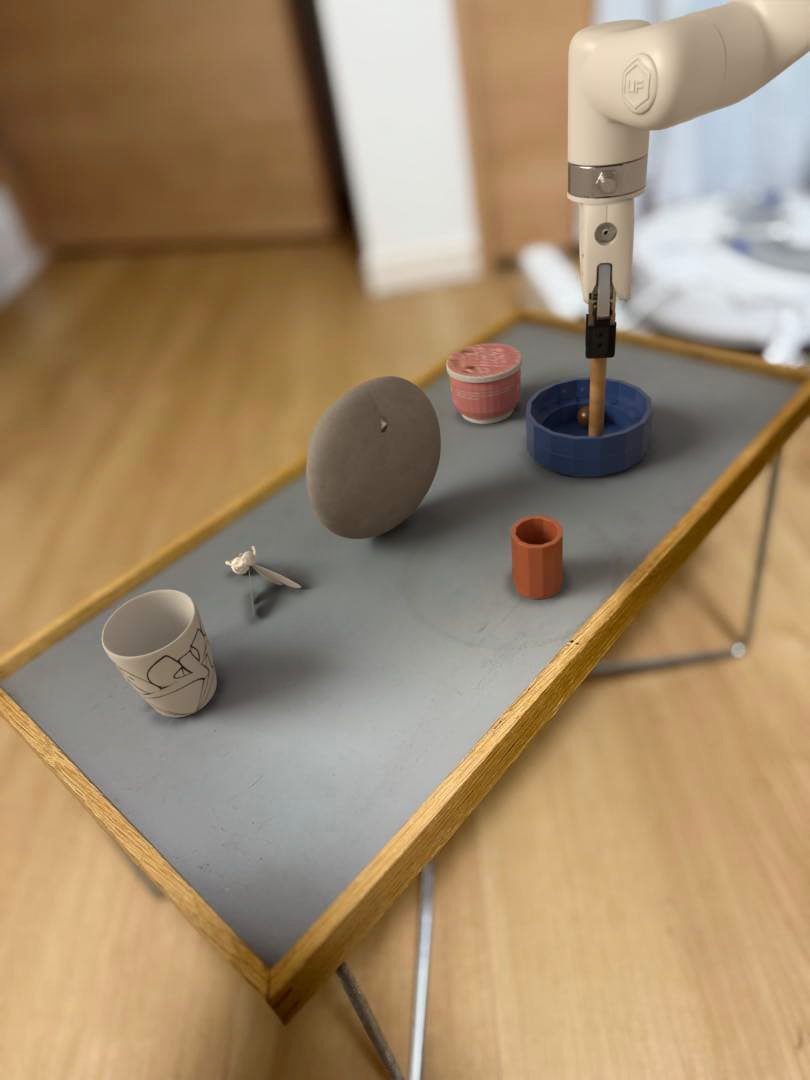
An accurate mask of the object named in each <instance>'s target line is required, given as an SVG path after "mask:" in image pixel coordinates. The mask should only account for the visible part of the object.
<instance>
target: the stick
mask: <svg viewBox="0 0 810 1080" xmlns="http://www.w3.org/2000/svg"><path fill="white" fill-rule="evenodd" d="M595 307H597V305H594V309H595ZM607 363H608V358H594V359H590V367H589V368H590V370H589V371H590V374H589V377H590V401H589V434H588V436H602V435H603V433H604V411H605V389H606V378H607V365H608V364H607Z"/></svg>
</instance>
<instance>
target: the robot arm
mask: <svg viewBox="0 0 810 1080" xmlns="http://www.w3.org/2000/svg"><path fill="white" fill-rule="evenodd" d="M809 52H810V0H729V1H727V2H726V3H724V4H721V5H718V6H712V7H709V8H706V9H702V10H697V11H694V12H690V13H687V14H684V15H681V16H678V17H674V18H670V19H666V20H662V21H659V22H656V23H652V24H651V23H650V22H649V21H647V20H644V19H622V20H621V19H620V20H613V21H607V22H602V23H596V24H592V25H589V26H587V27H583V28H582V29H580V30H578V31H577V32H576V33H575V34H574V35H573V36H572V39H571V40H570V43H569V46H568V55H567V56H568V57H567V61H568V62H567V72H568V73H567V164H566V165H567V168H566V169H567V171H566V173H567V174H566V175H567V176H566V177H567V178H566V179H567V181H566V182H567V183H566V185H567V186H566V189H567V190H566V197H567V199H568V201H570V202H573V203H577V204H579V205H578V208H579V209H578V217H579V218H578V226H579V227H578V246H579V247H578V248H579V269H580V283H581V291H582V300H583V302H584V303H585V304H587V308H588V309H587V310H588V311H587V313H585V337H584V339H585V340H584V347H585V350H584V351H585V353H584V354H585V358H586V359H587V360H591V359H594V358H607V359H612V358H614V357H615V355H616V340H617V321H616V316H617V315H616V313H617V312H616V309H617V307H616V306H617V298H618V301H624V303H627V302H629V301H630V300H631V298H632V282H633V281H632V280H633V279H632V278H633V259H634V242H635V240H634V239H635V199H636V198H638V197H640V196H642V195H644V193H645V192H646V189H647V177H648V175H647V174H648V163H649V162H648V161H649V159H648V158H649V146H650V133H651V132H650V131H661V130H666V129H670V128H674V127H675V126H678V125H681V124H683V123H684V124H685V123H687V122H690V121H692V120H695V119H696V118H700V117H702V116H705V115H707V114H711V113H713V112H716V111H719V110H722V109H725V108H729V107H731V106H733V105H736V104H738V103H740V102H742V101H743V100H745V99H747V98H749V97H750V96H752V95H754V94H755V93H757V92H758V91H759V90H761V89H762V88H764V87H765V86H766V85H768V84H769V83H771V81H773V80H774V79H776V78H777V77H778V76H779V75H780V74H782V73H783V72H785V71H786V70H787V69H788V68H789V67H791V66H792V65H793V64H795V63H796V62H797V61H799V60H800V59H801V58H803V57H804V56H805V55H806V54H808V53H809ZM594 305H597V307H595V309H594Z"/></svg>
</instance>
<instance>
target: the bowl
mask: <svg viewBox="0 0 810 1080" xmlns="http://www.w3.org/2000/svg"><path fill="white" fill-rule="evenodd" d="M589 401H590V376H587V377H586V376H585V377H574V378H569V379H565V380H564V379H563V380H560V381H556V382H553V383H551V384H548V385H547V386H544V387H543V388H541V389H539V390H536V392H535V393H534V394H533V395H532V396H531V397H530V398H529V399H528V400H527V401H526V409H525V430H526V432H525V433H526V435H525V436H526V450H527V452H528V453H529V455H530V456H531V458H532V460H533V461H534V462H535V463H537V464H538V465H540V466H542V467H543V468H545V469H547V470H549V471H551V472H555V473H559V474H562V475H563V474H564V475H568V476H572V477H603V476H606V475H611V474H615V473H619V472H624V471H626V470H627V469H629V468H630V467H632V466H635V465H636V464H637V463H639V462H640V461H642V460H643V458H644V456H645V455H646V453H648V450H649V449H650V446H651V445H650V444H651V443H650V442H651V434H652V423H653V422H652V421H653V413H654V410H653V403H652V398H651V396H650V395H648V394H647V393H646V392H645V391H644V390H643V389H642V388H641V387H639V386H637V385H634V384H632V383H630V382H628V381H624V380H623V379H622V380H621V379H616V378H608V377H606V389H605V411H604V433H603V435H602V436H588V434H589V428H584V427H582V426H581V425H580V424H579V423H578V421H577V414H578V411H579V410H580V409H581V408H582V407H584V406H587V405H589Z"/></svg>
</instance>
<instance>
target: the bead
mask: <svg viewBox="0 0 810 1080" xmlns="http://www.w3.org/2000/svg"><path fill="white" fill-rule="evenodd" d="M577 421H578V423H579V424H580V425H581V426H582V427H584V428H589V405H587V406H584V407H582V408H581V409H580V410H579V411H578V414H577Z"/></svg>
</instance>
